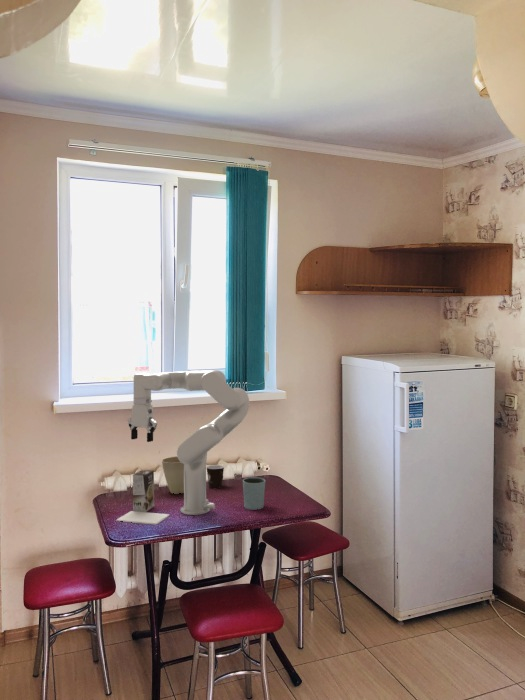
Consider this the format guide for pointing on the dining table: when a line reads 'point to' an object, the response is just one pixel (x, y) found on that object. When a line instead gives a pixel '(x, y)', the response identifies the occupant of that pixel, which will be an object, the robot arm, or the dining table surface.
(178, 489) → the plant pot
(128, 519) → the mat
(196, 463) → the robot arm
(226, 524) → the dining table surface
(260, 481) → the teal cup
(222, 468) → the coffee mug
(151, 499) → the coffee box
